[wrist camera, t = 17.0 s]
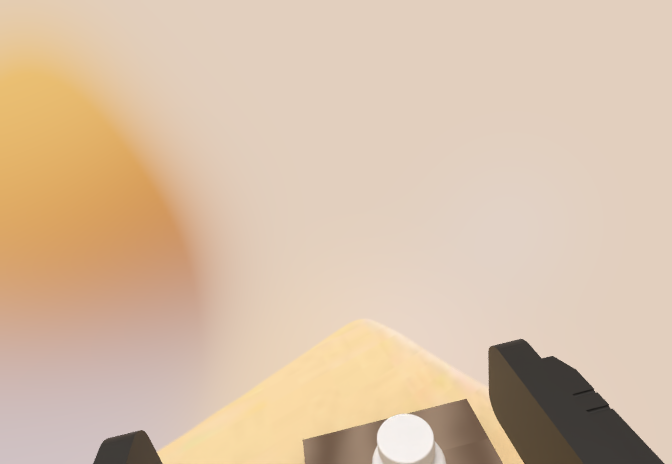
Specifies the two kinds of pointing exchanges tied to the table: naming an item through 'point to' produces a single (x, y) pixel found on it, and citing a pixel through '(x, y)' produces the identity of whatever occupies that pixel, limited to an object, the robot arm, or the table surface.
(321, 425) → the table surface
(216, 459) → the table surface
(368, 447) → the socket plate
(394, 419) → the supplement bottle
